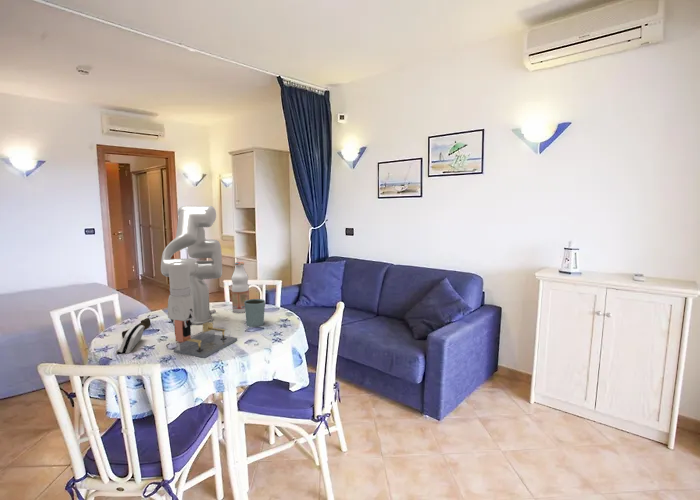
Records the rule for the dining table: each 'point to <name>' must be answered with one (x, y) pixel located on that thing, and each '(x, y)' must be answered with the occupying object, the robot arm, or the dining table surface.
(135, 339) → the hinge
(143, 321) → the hand tool
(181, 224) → the robot arm
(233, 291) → the fruit juice
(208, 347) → the grey clamp fixture plate
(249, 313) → the green cup
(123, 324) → the dining table surface
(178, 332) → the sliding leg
